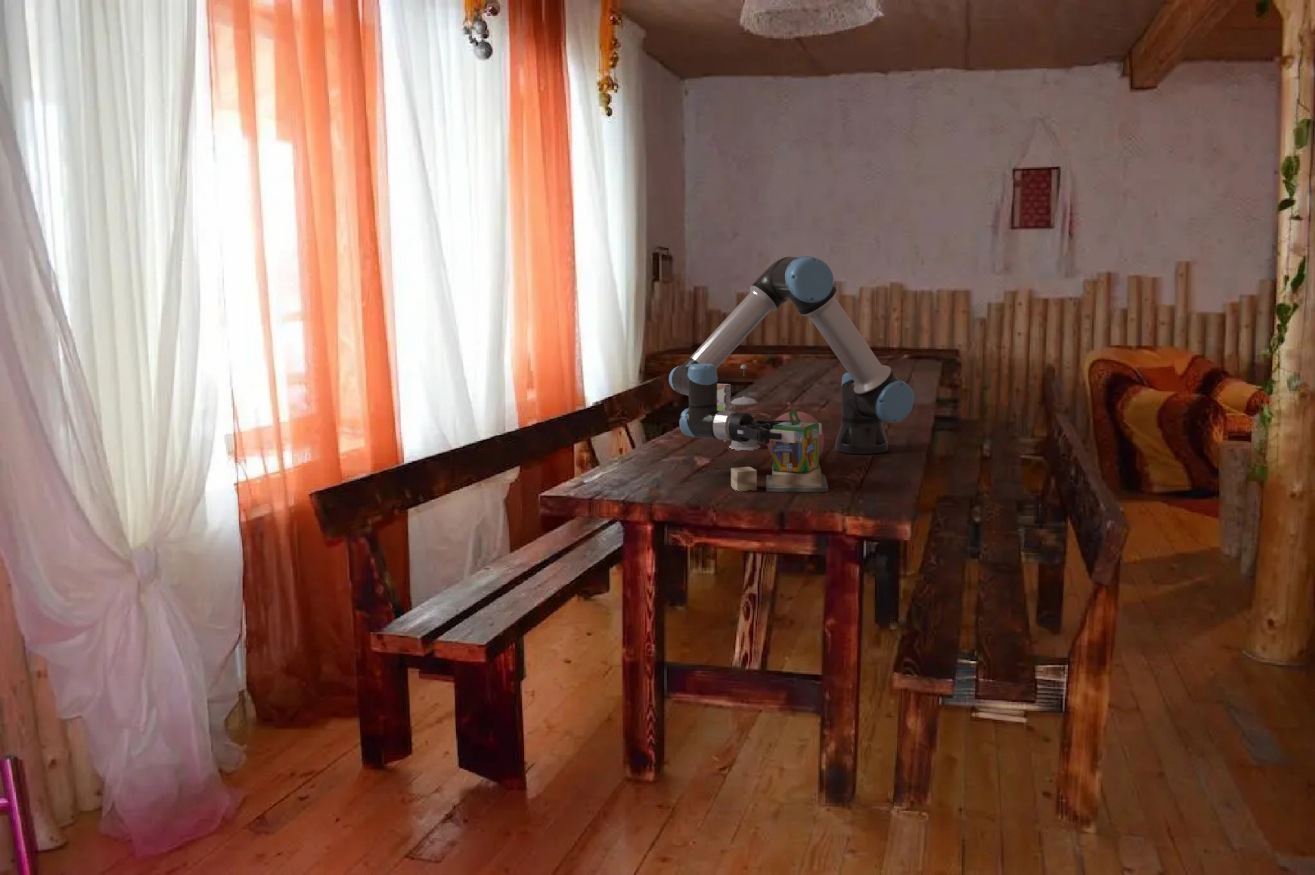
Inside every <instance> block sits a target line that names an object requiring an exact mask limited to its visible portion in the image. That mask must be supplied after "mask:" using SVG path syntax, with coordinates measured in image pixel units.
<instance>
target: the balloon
mask: <svg viewBox="0 0 1315 875" xmlns="http://www.w3.org/2000/svg"><path fill="white" fill-rule="evenodd" d="M796 411H797V410H796ZM789 412H790V411H788V412H785V413H783V414H780V415H779V416H778V417H777V418H775V420H790V416H789ZM797 415H798V418H799V419H800V421H801V422H809V423H819V421H818V420H817V419H816V418H815V417H814V416H812V415H811V414H809V413H806V412H803V411H797ZM792 418H793V420H796V417H795V415H793V416H792ZM769 431H770V430H769ZM762 442H763V443H764V444H765V440H763V441H762ZM765 445H766V446H767V449H768V452H769V454H770V455H771V457H772V458H773V441H770V439H769V444H765ZM824 447H825V433H824V430H823V428H822V434H821V435H819V457H820V456H821V454H822V453H823V450H824Z"/></svg>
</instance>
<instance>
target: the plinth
mask: <svg viewBox="0 0 1315 875" xmlns="http://www.w3.org/2000/svg"><path fill="white" fill-rule="evenodd" d="M771 470H772V471H771V473H772V474H766V478H765V480H766V481H765V492H767V493H772V492H773V493H776V492H777V493H780V492H781V493H782V492H784V493H787V492H788V493H789V492H790V493H791V492H793V493H797V492H798V493H799V492H801V493H808V492H809V493H817V492H818V493H828V492H829V485H828V480H827V478H826V475H825V474H822V471H821V470H822V468H821V465H820V464H819V468H817V469H814V470H812V471H810V472H807V473H799V472H782V471H773V464H772V465H771Z"/></svg>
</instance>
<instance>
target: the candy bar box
mask: <svg viewBox="0 0 1315 875" xmlns="http://www.w3.org/2000/svg"><path fill="white" fill-rule="evenodd" d="M731 388H732V386H731V384H730V383H729V384H728V383H717V410H718V411H725V410H726V409H727V408H728V407H730V406H731V407H732V404H731V401H732V400H731V399H732V396H731V395H732V394H731V393H732V392H731V391H732V390H731ZM728 410H729V408H728V409H727V410H726V411H728ZM729 411H732V410H731V408H730V410H729Z"/></svg>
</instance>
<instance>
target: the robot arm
mask: <svg viewBox="0 0 1315 875" xmlns="http://www.w3.org/2000/svg"><path fill="white" fill-rule="evenodd" d="M837 294H838V290H837V288H836V286H835V284H834V275H833V272H832V270H831V267H829V265H828V264H827V263H826V262H825V261H823V260H822V259H820V258H817V257H814V256H809V255H807V256H806V255H804V256H784V257H781V258H779V259H777V260H775V261H774V262H773V263H772V264H771V265H770V266H769V267H768V268H767V269H766V270H765V271H764V272H762V273H761V274H760V276H759V277H758V278H757V279H756V280H755V281H754V282H753V283H752V284H751V285H750V286H749V293H748V294H747V295H746V297H745V298H744V299H743V300H742V301H741V302H740V303H739V304H738V305H737V306H736V307H735V308H734V310H732V312H731V313H730V314H729V315H728V316H727V317H726V318H725V319H724V320H723V321H722V322H721V323H720V325H718V327H717V328H716V329H715V330H714V331H713V332H712V333H711V334H710V335H709V336H708V338H707V339H705V341H704V342H703V343H702V344H701V345H700V346H699V347H698V348H697V349H696V351H695V352H693V353H692V355H691V356H690V357H689V358H688V359H687V360H685V362H684V363H683V364H682V365H681V364H680V365H678V366H676V367H674V368H673V369H672V370H671V371H670V373H669V374H668V375H669V376H668V383H669V385H670V388H672V390H673V391H676V393H677V394H680V395H685V396H687V397H688V408H685V409H684V410H683V411H682V412H681V413H680V419H679V421H678V422H679V429H680V430H681V433H682V434H684V435H685V436H687V437H692V438H697V439H708V440H709V439H712V440H723V442H724V443H727V442H728V441H731V442H732V440H733V441H739V442H747V441H749V440H750V439H752V440H756V441H757V442H760V443H762V442H763V440H765V443H764V444H765V445H766V444H769V439H770V441H779V442H789V443H795V431H784V430H773V426H774V425H776V424H779V423H782V422H786V421H789V422H791V420H776V419H775V420H774V419H772V420H771V419H755V420H756V421H754V420H753V419H754V418H753V417H752V416H751V415H750V414H751V413H748V412H745V413H744V412H740V411H732V410H731V411H718V410H717V384H718V379H719V378H718V370H717V369H718V368H719V367H720V366H721V365H722V364H723V362H725V360H726V359H727V358H728V357H729V356H730V355H731V354H732V353H733V352H734V350H736V348H738V346H739V345H740V344H741V343H743V341H744V340H745V339H746V338H747V337H748V336H749V335H750V334H751V333H752V332H753V330H754V329H755V328H756V327H757V326H758V325H759V324H760V323H761V321H763V319H765V317H766V316H767V315H768V314H769V313H770V312H775V311H777V310H778V308H779V307H781V306H782V305H783V304H785V303H786V302H788V301H790V302H791V303H792V304H793V306H794V307H795V309H796V310H797V312H798V313H799V314H800V315H801V316H804V317H808V318H809V319H810V321H811V322H812V323H813V324H814V326H815V327H816V328H817V330H818V331H819V333H820V334H821V336H822V337H823V339H824V340H825V341H826V343H827V345H828V346H829V347H830V349H831V350H832V352H833V353H834V355H835V356H836V357H837V359H838V360H839V361H840V363H841V364H842V366H843V367H844V369H845V370H846V372H845V373H844V374H843V375H842V378H841V385H840V387H841V422H840V423H841V424H840V426H839V427H840V428H839V430H838V434H837V436H836V438H835V443H834V444H835V445H834V446H835V447H834V449H835V451H837V452H840V453H844V454H851V455H852V454H853V455H873V454H874V455H875V454H882V453H886V452H888V451H889V442H888V439H887V435H886V431H885V429H884V425H883V423H891V424H893V423H899V422H901V421H903V420H904V419H906V418H907V417H908V416H909V415H910V413H911V411H912V410H913V407H914V402H915V394H914V391H913V389H912V387H911V386H910V384H908V383H906V382H905V381H904V380H900V379H899V378H898V377H897V375H896V374H895V373H894V371H893V369H892V368H891V367H890V366H889V365H883V364H881V362H880V361H879V359H878V358H877V356H876V355H875V354H874V352H873V351H872V349H871V347H870V346H869V345H868V343H867V341H866V340H865V339H864V338H863V336H862V334H861V333H860V332H859V330H858V328H857V327H856V326H855V324H854V322H853V321H852V320H851V318H850V317H849V315H848V314H847V313H846V311H845V310H844V308H843V307H842V305H841V304H840V302H839V301H838V299H837V297H836V296H837ZM794 421H795V420H794ZM799 422H801V421H800V419H799ZM818 424H819V435H821V434H822V429H823V428H822V427H823V426H822V423H820V422H818ZM769 430H770V431H769Z"/></svg>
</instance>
